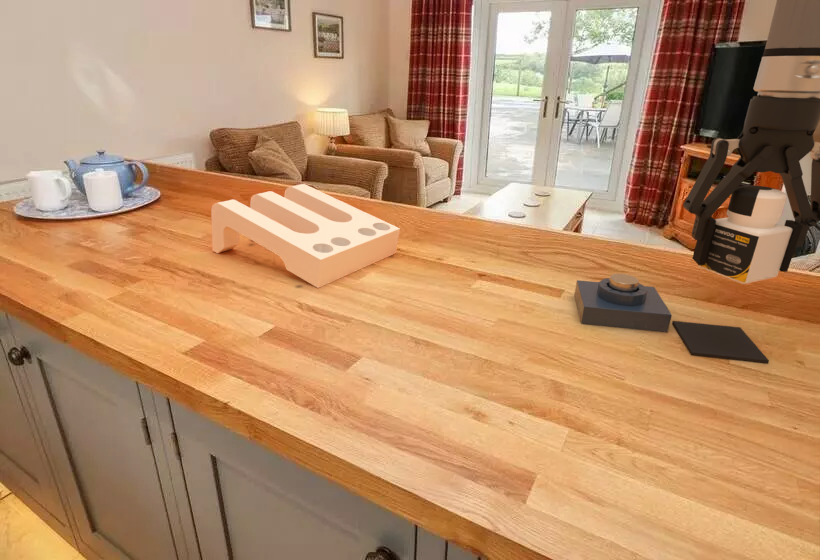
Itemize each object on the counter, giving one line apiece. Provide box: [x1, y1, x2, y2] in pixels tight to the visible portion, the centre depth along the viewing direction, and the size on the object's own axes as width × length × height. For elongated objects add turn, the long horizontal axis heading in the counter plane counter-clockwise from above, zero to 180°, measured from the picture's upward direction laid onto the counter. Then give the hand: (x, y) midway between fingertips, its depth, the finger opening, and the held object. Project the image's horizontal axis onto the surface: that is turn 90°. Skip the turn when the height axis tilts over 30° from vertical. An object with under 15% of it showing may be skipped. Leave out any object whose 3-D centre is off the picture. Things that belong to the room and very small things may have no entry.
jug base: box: [574, 277, 673, 334], centre depth 82 cm, size 13×11×5 cm
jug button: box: [608, 273, 640, 293], centre depth 81 cm, size 4×4×2 cm
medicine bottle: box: [697, 184, 793, 285], centre depth 67 cm, size 7×7×12 cm
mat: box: [671, 320, 770, 365], centre depth 74 cm, size 10×10×1 cm
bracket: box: [210, 183, 401, 289], centre depth 107 cm, size 24×12×32 cm
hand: (738, 264), depth 69 cm, fingers closed on medicine bottle, 10 cm apart
